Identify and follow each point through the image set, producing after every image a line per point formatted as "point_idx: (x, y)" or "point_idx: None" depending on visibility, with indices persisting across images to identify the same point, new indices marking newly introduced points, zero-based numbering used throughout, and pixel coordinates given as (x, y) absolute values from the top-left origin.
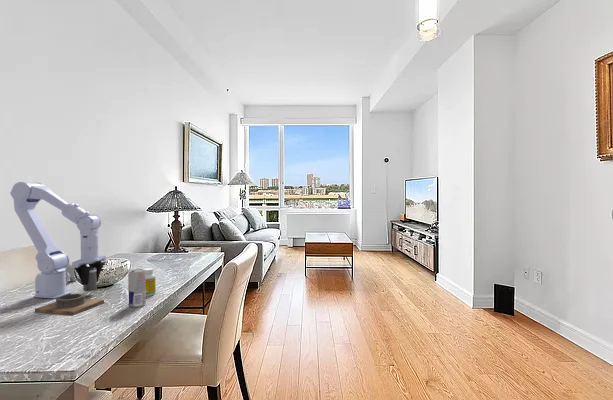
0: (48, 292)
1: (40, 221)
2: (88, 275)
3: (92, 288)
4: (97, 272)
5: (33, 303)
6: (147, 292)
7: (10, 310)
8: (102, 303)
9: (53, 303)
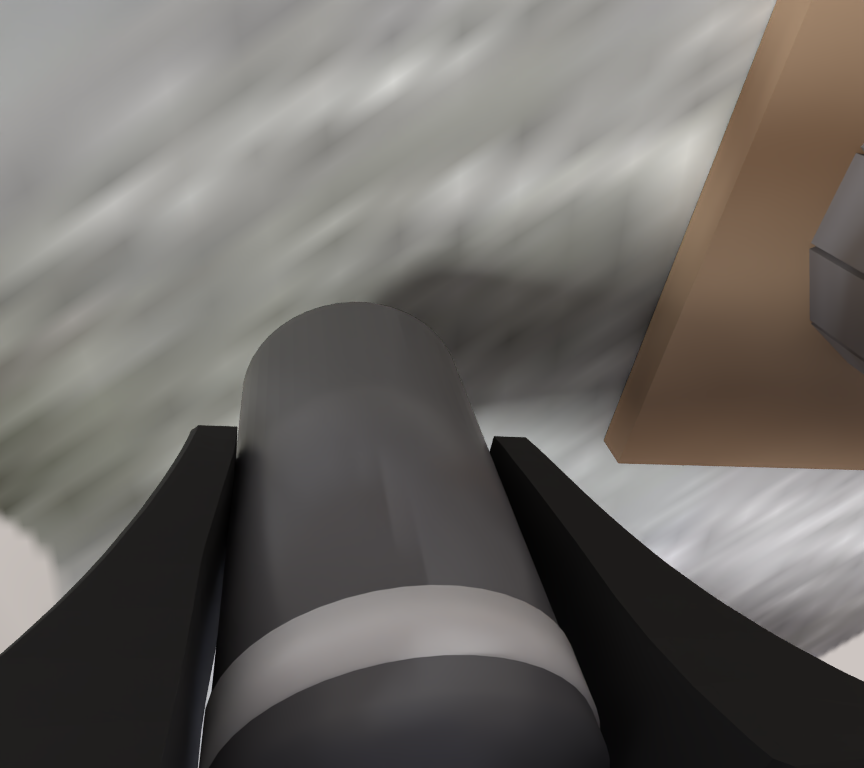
0: None
1: None
2: (596, 559)
3: (421, 334)
4: (201, 591)
5: None
6: None
7: (826, 636)
8: None
9: (845, 444)
